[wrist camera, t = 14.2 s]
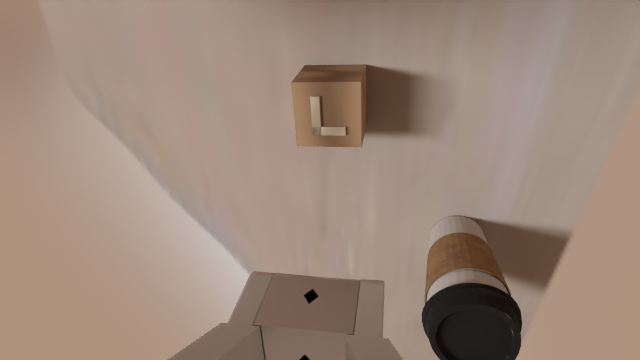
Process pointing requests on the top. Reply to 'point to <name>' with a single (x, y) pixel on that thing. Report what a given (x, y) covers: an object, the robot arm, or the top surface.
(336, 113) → the lettered cube
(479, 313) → the coffee cup
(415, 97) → the top surface
